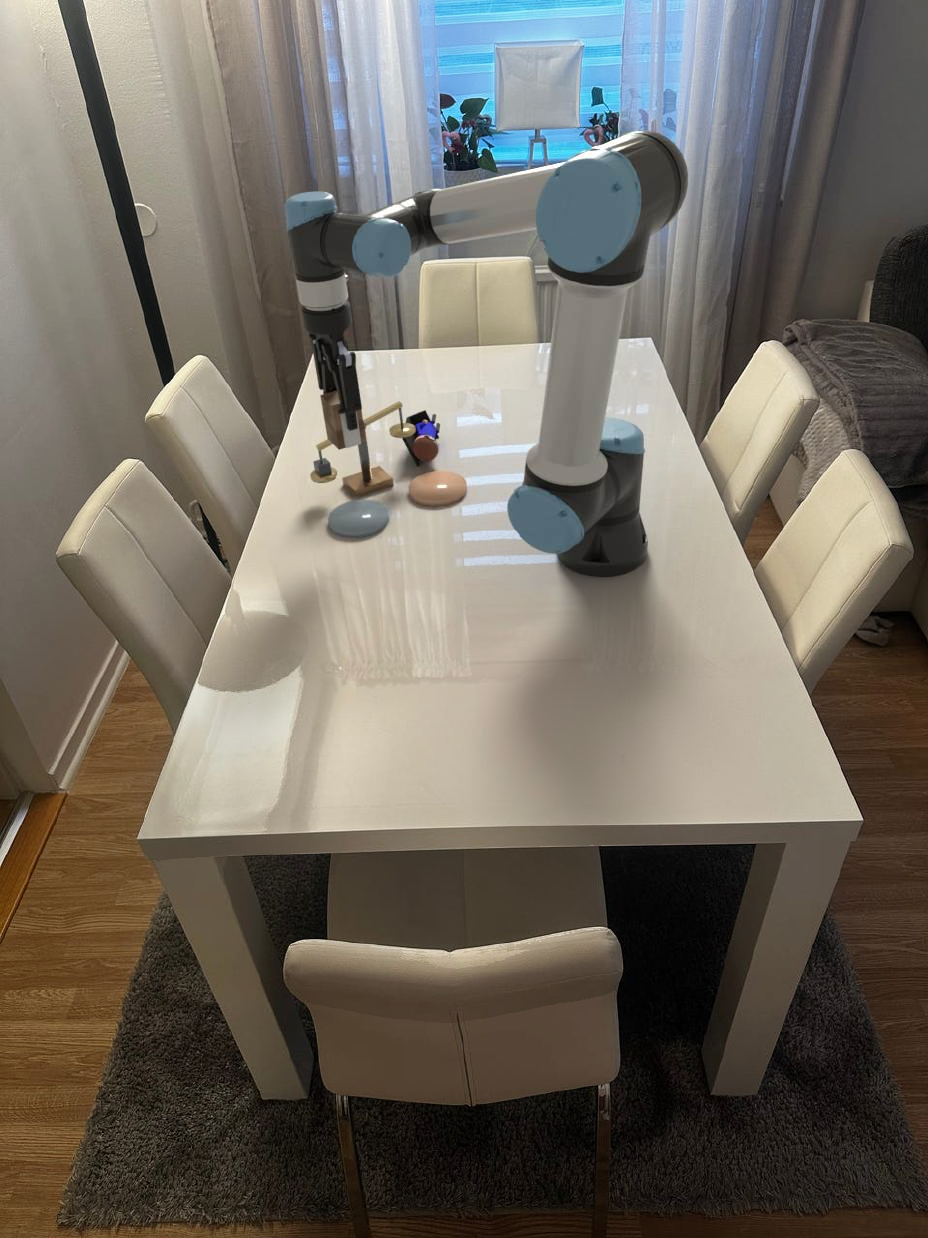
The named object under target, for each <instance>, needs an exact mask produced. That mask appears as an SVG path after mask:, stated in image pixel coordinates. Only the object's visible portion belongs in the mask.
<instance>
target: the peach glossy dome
mask: <svg viewBox="0 0 928 1238" xmlns="http://www.w3.org/2000/svg"><path fill="white" fill-rule="evenodd" d="M467 485H468V484H467V480H466V479H465V477H464V476H463V475H461V474H460V473H457V472H454V471H449V470H435V471H429V472H425V473H422V474H419V475H418V476H416V477H415V478H413V479H412V480H411V481H410V482H409V484H408V495H409V497H410V499H411V500H412V501H414V503H417V504H420V505H423V506H429V507H439V506H447V505H450V504H454V503H456V502H458V501H459V500H461V499H463V498H464V496H465V495H466V494H467V491H468V486H467Z"/></svg>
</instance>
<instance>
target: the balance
mask: <svg viewBox="0 0 928 1238" xmlns="http://www.w3.org/2000/svg"><path fill="white" fill-rule="evenodd" d="M402 408H403V403H402V402H401V401H397V402H395V403H393V404H391V405H389V406H388V407H387V406H386V408H384V409H382V410H380V411H378V412H376V413H374V414H373V415H372V414H371V415H370V416H369V417H368V416H367V418H365V419H363V424H364V431H365V438H366V442H363V443H361V444H359V445H357V449H358V455H359V463H360V468H361V469H360V470H361V471H360V472H356V473H353V474H351V475H347V476H344V477H342V484H343V486H344V487H345V488H346V489H347V490H348V491H349V492H350V493H351V494H352V495H353V496H354V497H355V498H360V497H362V496H365V495H367V494H371V493H374V492H378V491H380V490H383V489H385V488H389V487H393V486H394V478H393V477H392V476H391V475H390V474H389V473H388V472H387V471H385V469H383V467H381V466H380V465H378V466H376V467H371V461H370V454H369V452H370V451H369V448H368V447H369V446H368V440H367V432H366V429H367V426H369V425H371V424H373V423H375V422H376V421H379V420H381V419H382V418H384V417H386V416H388V415H390V414H392V413H393V412H395V411H397V410H398V412H399V413H398V414H399V421H400V422H399V423H397V424H394V425H392V426H391V427H389V431H388V432H389V434H390V436H391V437H393V438H397V439H402V438H405V437H409V436H412V435H413V434H414V433H415V432H416V429H415V426H414V425H412V424H409V423H406V422H404V419H403V412H402ZM331 445H334V444H333V443H332V442H330V441H329V440H328V438H327V439H326V440H323V441H321V442H320V443H318V444H316V445H315V447H316V449H317V453H318V457H319V459H317V460H314V461H313V468H314V470H312V471H311V473H310V475H309V476H310V480H311V481H312V482H314V483H316V484H328V483H330V482H333V481H334V480H335V479H337V478H338V470H337V469H336V468H334V467H332V466H331V462H330V461H329V460H328V459H327V458H326V457H323V456H322V455H323V454H322V450H324V449H326V448H329V447H330V446H331Z"/></svg>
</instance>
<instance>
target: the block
mask: <svg viewBox="0 0 928 1238" xmlns="http://www.w3.org/2000/svg"><path fill="white" fill-rule="evenodd" d="M320 401H321V402H320V403H321V408H322V415H323V419H324V426H325V432H326V438H327V439H328V440H329V441H330V442H332V443H333V444H332V445H333V446H335V447H336V449H337V450H338V451H339V450H343V449H347V448H346V447H345V443H344V437H343V431H342V424H341V418H340V415H339V413H338V411H337V410H341V405H340V401H339V397H338V393H337V391H333V392H330V393H326V394H323V393H322V394H320ZM357 417H358V424H359V431H360V438H361V443H363V442H366V438H367V437H366V438H365V431H366V430H365V431H364V424H363V420H364V418H363V412H362V409H361V410H358V411H357Z"/></svg>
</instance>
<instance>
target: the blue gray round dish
mask: <svg viewBox="0 0 928 1238" xmlns="http://www.w3.org/2000/svg"><path fill="white" fill-rule="evenodd" d="M327 521H328V526H329V529H330V530H331V532H333V533H334V534H335V535H338V536H340V537H343V538H344V537H345V538H350V539H351V538H364V537H367V536H371V535H374V534H376V533H379V532H380V531H382V530H383V529H384V528H385V527H386V526H387V525H388V524H389V521H390V512H389V509H388V507H387V506H386V505H385V504H384V503H382V502H379V501H377V500H374V499H373V500H372V499H356V500H351V501H346V502H344V503H341V504H339V505H338V506H336V507H335V508H333V509H332V510H331V511H330V512H329V515H328V517H327Z"/></svg>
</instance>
